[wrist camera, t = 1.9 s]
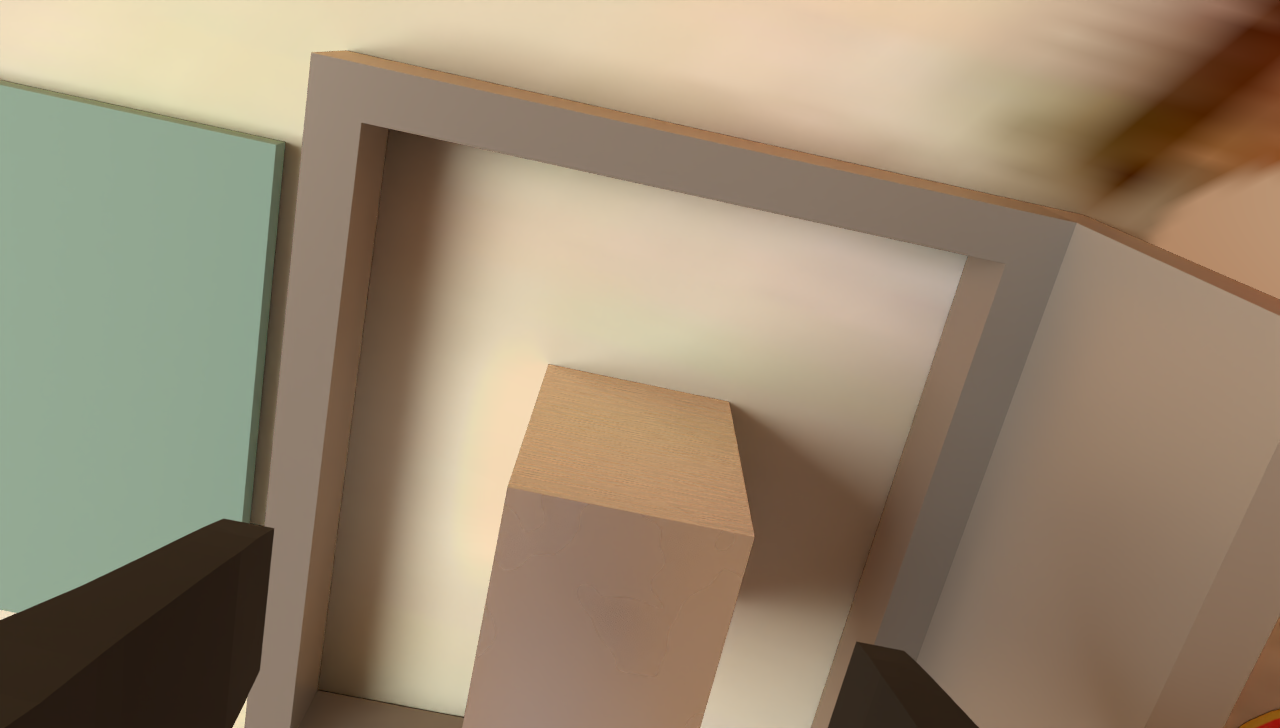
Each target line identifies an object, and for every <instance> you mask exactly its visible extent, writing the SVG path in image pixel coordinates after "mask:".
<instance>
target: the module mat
mask: <svg viewBox="0 0 1280 728" xmlns="http://www.w3.org/2000/svg"><path fill="white" fill-rule="evenodd" d="M284 152H285V142H283V141H278V140H274V139H269V138H265V137H260V136H255V135H251V134H246V133H242V132H237V131H232V130H228V129H223V128H219V127H214V126H209V125H205V124H200V123H196V122H191V121H186V120H182V119H177V118H173V117H168V116H163V115H159V114H154V113H150V112H145V111H140V110H136V109H131V108H127V107H122V106H117V105H113V104H108V103H104V102H99V101H94V100H90V99H85V98H81V97H76V96H71V95H67V94H62V93H58V92H53V91H48V90H44V89H39V88H35V87H30V86H26V85H21V84H16V83H12V82H7V81H3V80H0V610H5V611H10V612H15V613H19V612H21V611H23V610H26V609H28V608H30V607H33V606H35V605H37V604H40V603H42V602H44V601H47V600H49V599H52V598H54V597H56V596H59V595H61V594H63V593H66V592H68V591H70V590H73V589H75V588H77V587H80V586H82V585H84V584H86V583H88V582H90V581H92V580H95V579H97V578H99V577H101V576H103V575H105V574H107V573H109V572H111V571H113V570H116V569H118V568H120V567H122V566H124V565H126V564H128V563H130V562H132V561H134V560H137V559H139V558H141V557H143V556H145V555H147V554H149V553H151V552H153V551H155V550H157V549H159V548H161V547H163V546H165V545H167V544H169V543H171V542H173V541H176V540H178V539H180V538H182V537H184V536H186V535H188V534H190V533H192V532H194V531H196V530H198V529H200V528H203V527H205V526H207V525H209V524H212V523H214V522H216V521H219V520H221V519H229V520H234V521H239V522H245V523H250V516H251V506H252V495H253V484H254V473H255V463H256V452H257V441H258V431H259V420H260V409H261V398H262V388H263V377H264V366H265V355H266V345H267V334H268V323H269V313H270V302H271V291H272V280H273V270H274V259H275V248H276V237H277V227H278V216H279V205H280V195H281V184H282V173H283V162H284Z"/></svg>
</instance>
